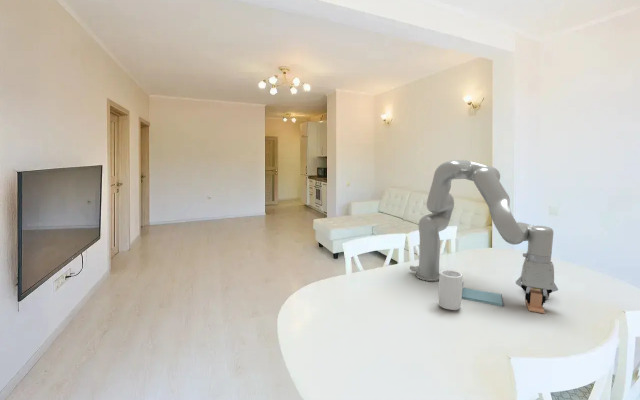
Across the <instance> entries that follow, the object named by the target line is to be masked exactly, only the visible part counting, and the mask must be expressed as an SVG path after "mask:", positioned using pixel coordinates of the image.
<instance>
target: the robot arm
mask: <svg viewBox="0 0 640 400" xmlns="http://www.w3.org/2000/svg"><path fill="white" fill-rule="evenodd" d="M464 179H465V180H468V181H471V182H473V183H474V185H475V187H476V188H477V190H478V191H479V193H480V195H481V197H482V198H483V200H484V201H485V203H486V205H487V207H488V211H489V215H490V217H491V220H492V222H493V224H494V228H496V230H497V231H498V234H499V236H501V238H502V239H503V240H504V241H505V242H506V243H508V244H510V245H519V244H522V243H523V242H527V244H528V245H527V251H526V252H525V253H522V258H524V261H523V264H522V269H521V274H520V276H519V277H518V279H517V280H515V284H516V285H517V286H518V287H520V288H521V289H522V290H523V291H524V292H525V293H524V294H525V295H524V301H525V300H527V303H530V295H531V294H530V288H531V287H534V288H540V289H542V295H543V296H542V306H544V304H545V303H546V300H547V299H546V296H547V295H548V294H549V295H550V294H551V293H554V292H557V291H559V288H558V286H557V285H556V283H555V267H554V263H553V261H552V251H553V242H554V229H553V228H551V227H550V226H546V225H545V226H543V225H534V224H533V225H532V224H530V223H525V222H519V221H518V222H517V220H516V219H515V218H514V216H513V214H512V210H511V208H510V203H511V199H510V195H508V194H509V193H507V191H506V189H505V188H504V186H503V185H502V183H501V182H500V181H501V173H500V171H499V170H498V169H497V168H495V167H494V166H490V165H485V164H481V163H478V162H474V161H470V160H464V159H463V160H459V159H457V160H455V159H454V160H449V161H445V162H443V163H441V164H440V165H438V167H437V168H436V169H435V171H434V173H433V178H432V182H431V185H430V188H429V192H428V196H427V199H426V209H427V210H428V211H429V212H430V213H429V214H426V215H423V216H422V217H421V218H420V219H419V221H418V232H419V235H418V236H419V249H418V250H419V253H418V254H419V255H418V265H417V266H414V265H410V266H409V269H410V270H411V272H415V275H416V276H417V277H418V278H417V277H416V276H415V277H416V278H417V279H419V278H420V280H421V279H422V280H421V281H425V280H426V282H438V281H439V278H440V258H441V257H440V253H441V238H440V233H441V232H442V231H445V230H446V229H447V227H448V226H449V224H450V221H451V217H452V214H453V210H454V207H455V199H454V197H453V195H452V194H451V193H450V190H451V187H452V181H453V180H464ZM439 232H440V233H439ZM525 257H526V258H527V259H525Z"/></svg>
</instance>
